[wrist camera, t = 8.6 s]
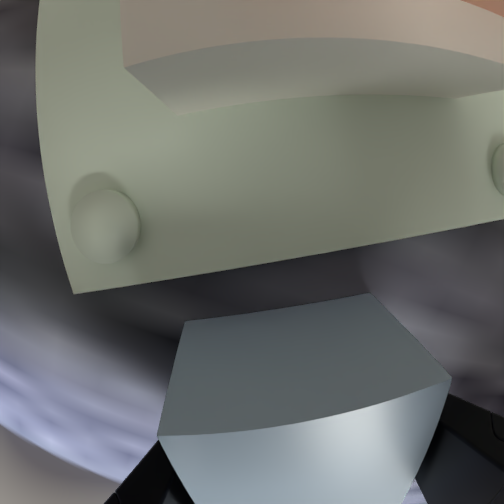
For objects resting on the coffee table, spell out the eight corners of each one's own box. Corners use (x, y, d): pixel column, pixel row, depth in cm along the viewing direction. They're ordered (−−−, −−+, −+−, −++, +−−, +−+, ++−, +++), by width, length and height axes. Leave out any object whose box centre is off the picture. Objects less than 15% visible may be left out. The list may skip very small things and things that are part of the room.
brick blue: (360, 418, 9) (400, 504, 6) (219, 442, 9) (219, 540, 5) (370, 292, 8) (452, 378, 4) (184, 321, 8) (156, 435, 4)
